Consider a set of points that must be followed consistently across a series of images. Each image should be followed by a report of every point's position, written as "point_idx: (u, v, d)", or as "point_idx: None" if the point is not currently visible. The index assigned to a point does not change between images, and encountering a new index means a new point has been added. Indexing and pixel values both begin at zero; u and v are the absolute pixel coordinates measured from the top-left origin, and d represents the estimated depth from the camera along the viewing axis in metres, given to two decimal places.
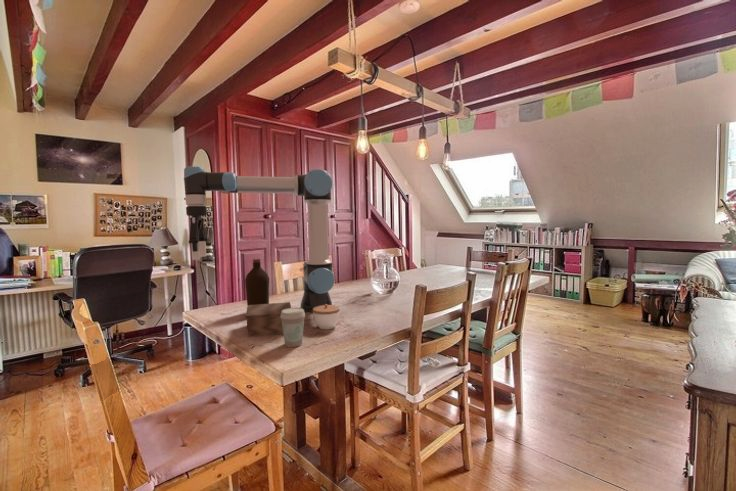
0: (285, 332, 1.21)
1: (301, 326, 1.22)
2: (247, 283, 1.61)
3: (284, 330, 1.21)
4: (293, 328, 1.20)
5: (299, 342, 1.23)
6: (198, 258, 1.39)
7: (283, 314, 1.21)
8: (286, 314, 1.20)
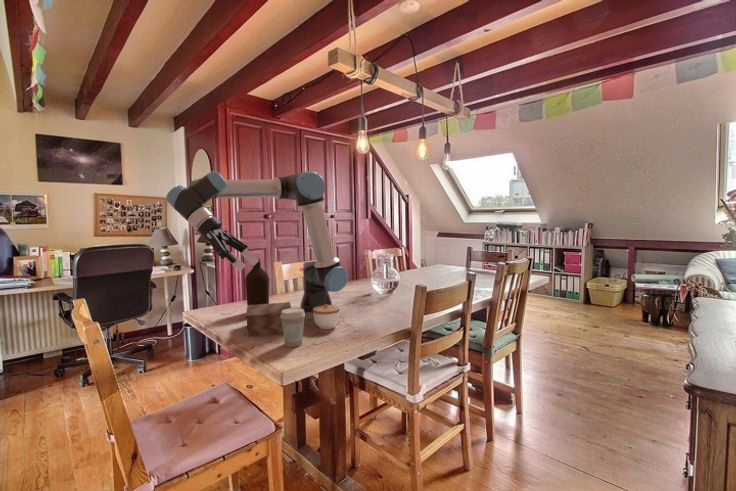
0: (285, 332, 1.21)
1: (301, 326, 1.22)
2: (247, 283, 1.61)
3: (284, 330, 1.21)
4: (293, 328, 1.20)
5: (299, 342, 1.23)
6: (243, 265, 1.18)
7: (283, 314, 1.21)
8: (286, 314, 1.20)
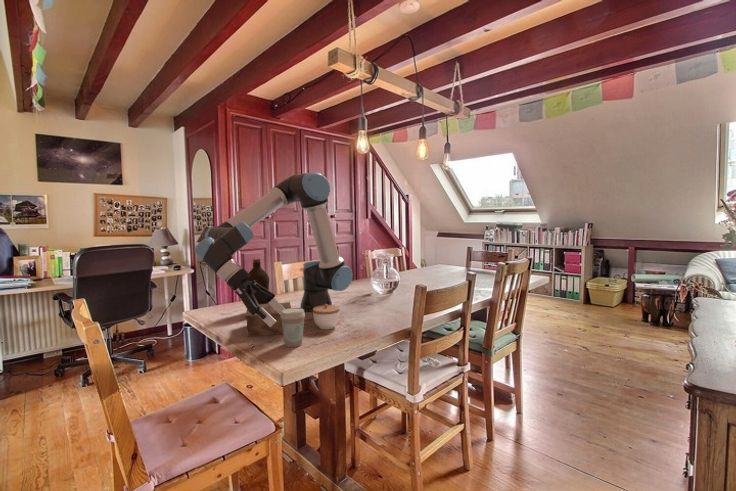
0: (285, 332, 1.21)
1: (301, 326, 1.22)
2: None
3: (284, 330, 1.21)
4: (293, 328, 1.20)
5: (299, 342, 1.23)
6: (273, 321, 1.16)
7: (283, 314, 1.21)
8: (286, 314, 1.20)
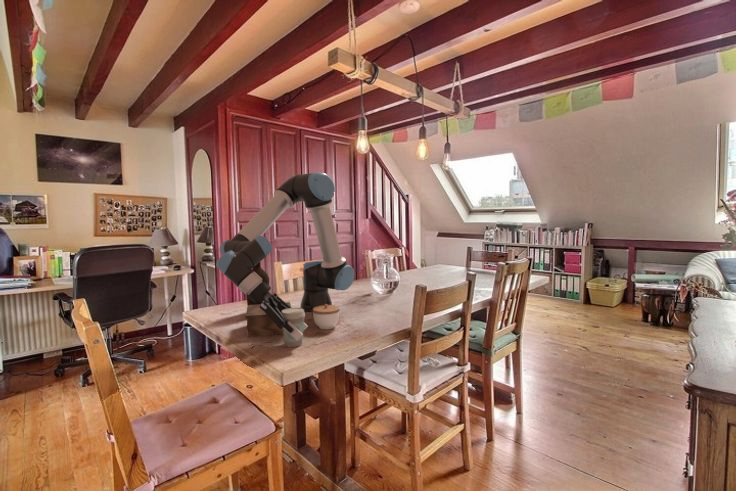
0: (285, 332, 1.21)
1: (301, 326, 1.22)
2: None
3: (284, 330, 1.21)
4: None
5: (299, 342, 1.23)
6: (300, 335, 1.19)
7: (283, 314, 1.21)
8: (286, 314, 1.20)
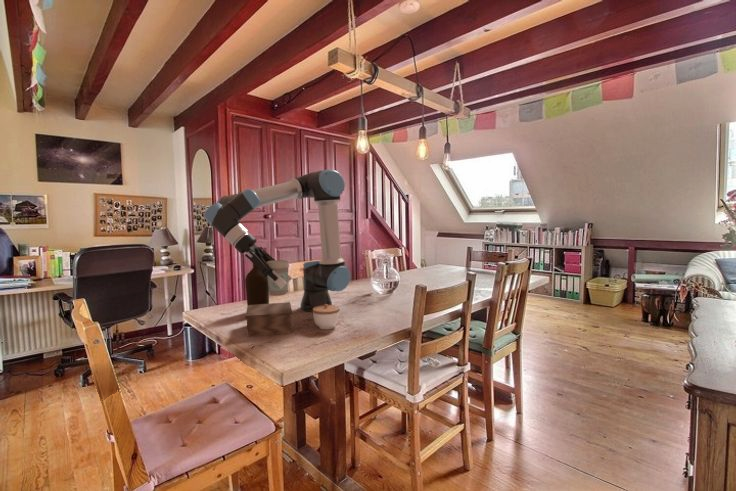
0: (270, 281, 1.27)
1: (285, 276, 1.28)
2: (247, 283, 1.61)
3: (269, 279, 1.27)
4: None
5: (283, 292, 1.29)
6: (284, 283, 1.25)
7: (268, 264, 1.26)
8: (271, 264, 1.26)
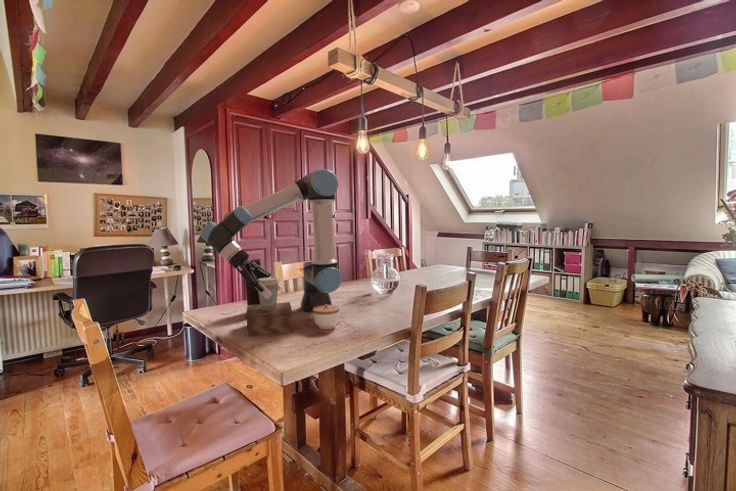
0: (260, 297, 1.38)
1: (275, 292, 1.39)
2: (247, 283, 1.61)
3: (260, 296, 1.39)
4: None
5: (273, 306, 1.40)
6: (270, 294, 1.34)
7: (259, 281, 1.38)
8: (261, 281, 1.37)
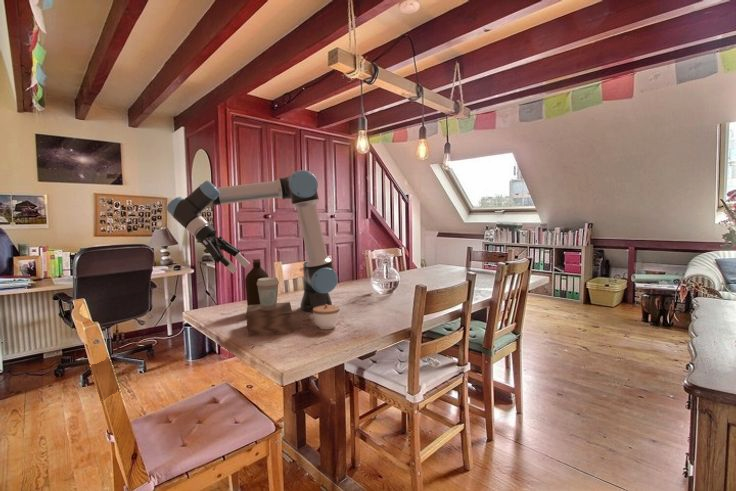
0: (261, 297, 1.38)
1: (275, 292, 1.39)
2: (247, 283, 1.61)
3: (260, 296, 1.39)
4: (267, 293, 1.37)
5: (273, 306, 1.40)
6: (235, 268, 1.33)
7: (259, 281, 1.38)
8: (261, 281, 1.37)
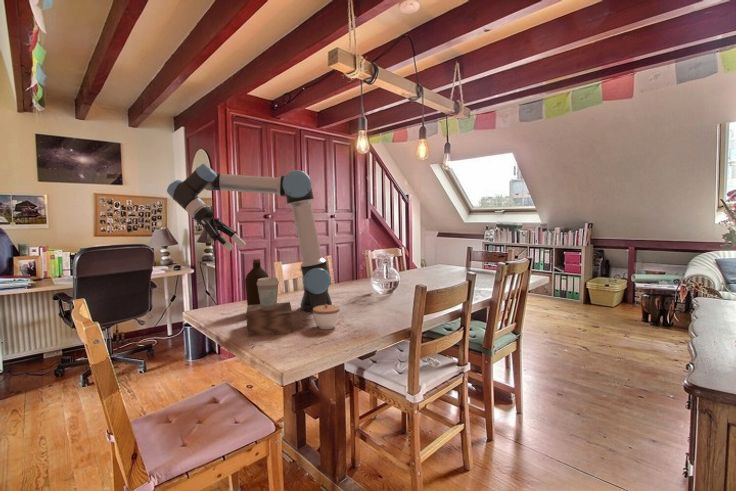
0: (260, 297, 1.38)
1: (275, 292, 1.39)
2: (247, 283, 1.61)
3: (260, 296, 1.39)
4: (267, 293, 1.37)
5: (273, 306, 1.40)
6: (231, 246, 1.41)
7: (259, 281, 1.38)
8: (261, 281, 1.37)
